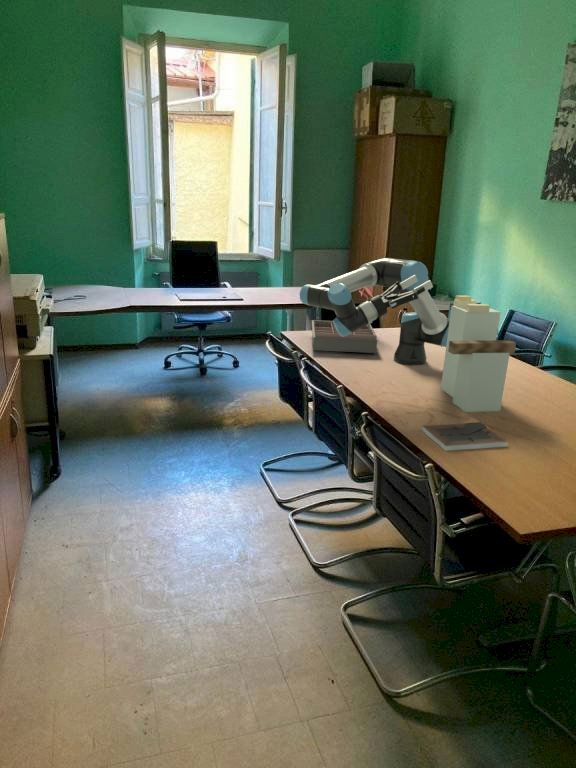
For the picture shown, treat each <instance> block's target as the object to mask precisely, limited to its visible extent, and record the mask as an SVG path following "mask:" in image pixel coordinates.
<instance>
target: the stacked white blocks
mask: <svg viewBox="0 0 576 768" xmlns="http://www.w3.org/2000/svg"><path fill="white" fill-rule="evenodd" d="M453 303H454V305H453V306H452V307H451V314H450V322H449V329H448V337H447V345H446V347H445V354H444V362H443V368H442V370H443V371H442V374H441V375H442V376H441V383H440V388H441V390H442V391H444V392H445V393H446V394H448V395H449V396H451V397H452V398H453V396H454V389H455V382H456V374H457V367H458V360H459V354H452V353H450V352H448V349H449V342H450V341H495V340H497V336H498V331H499V324H500V319H501V311H499V310H496V309H494V308H491V305H489V304H487V303H481V304H476V303H477V300H476V299H473V298H472V296H470V295H464V294H463V295H459V294H458V295H457V294H456V295H455V298H454V300H453Z"/></svg>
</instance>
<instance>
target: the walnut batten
mask: <svg viewBox="0 0 576 768" xmlns="http://www.w3.org/2000/svg"><path fill="white" fill-rule="evenodd" d="M516 345H517V342H515V341H512V340H509V339H507V340H502V339H501V340H498V339H496V340H495V341H450V342H449V349H448V352H450V353H452V354H472V353H510V354H509V355H515V352H516V348H517V347H516Z"/></svg>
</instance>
